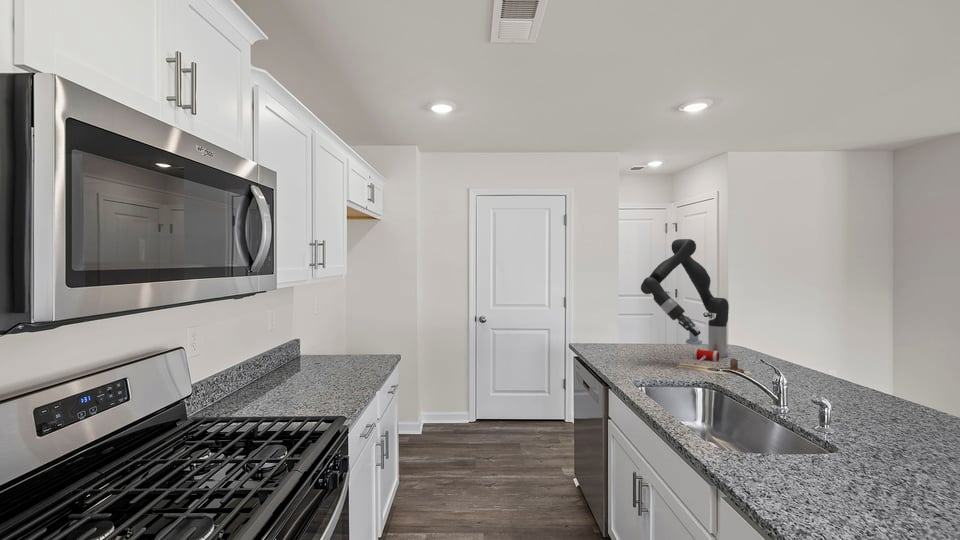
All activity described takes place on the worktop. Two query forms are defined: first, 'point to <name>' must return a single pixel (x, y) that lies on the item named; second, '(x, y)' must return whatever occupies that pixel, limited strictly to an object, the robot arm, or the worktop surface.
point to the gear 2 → (734, 366)
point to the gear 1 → (693, 338)
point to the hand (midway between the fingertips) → (698, 334)
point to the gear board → (704, 368)
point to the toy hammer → (705, 355)
